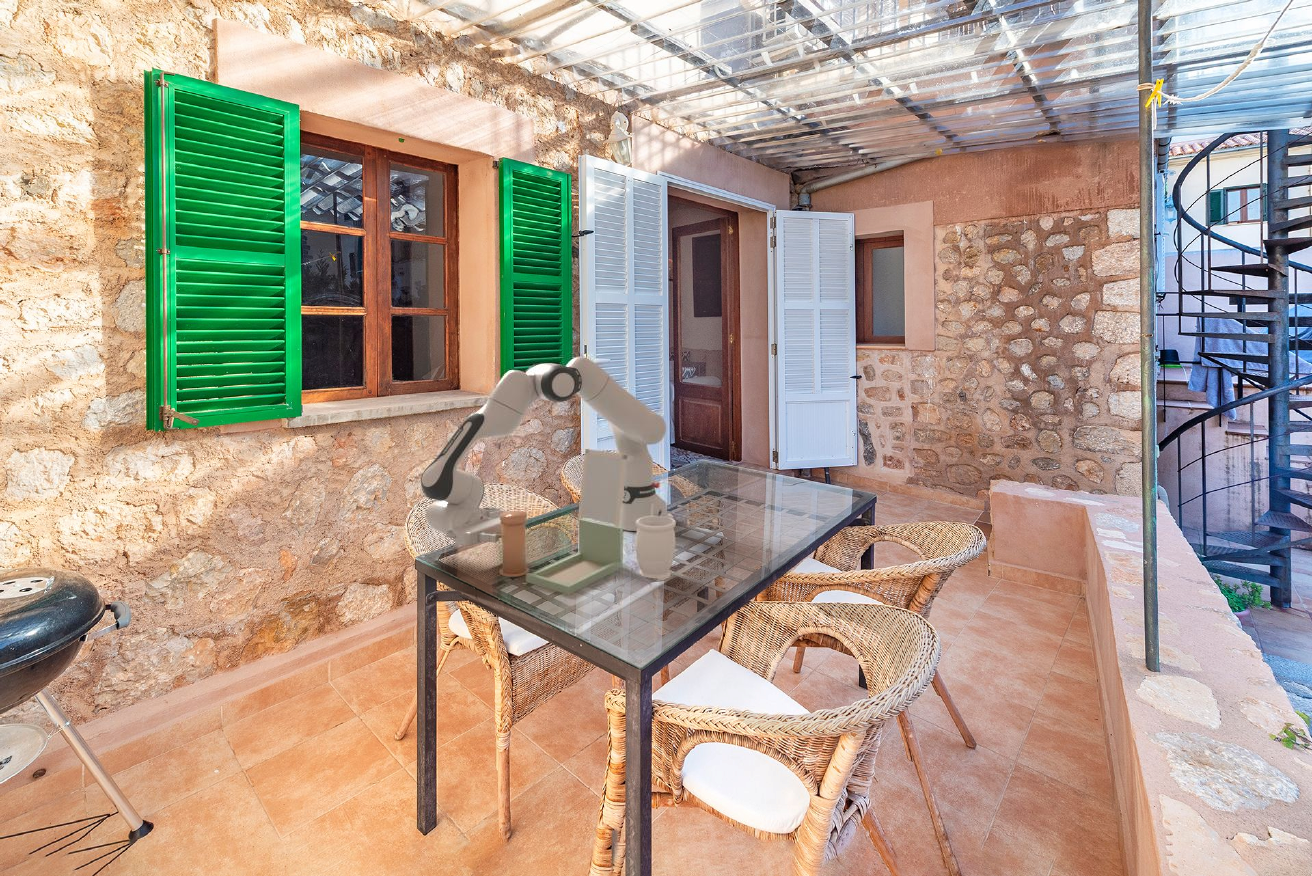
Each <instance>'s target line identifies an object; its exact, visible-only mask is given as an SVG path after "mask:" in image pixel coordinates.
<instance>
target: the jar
mask: <svg viewBox="0 0 1312 876" xmlns="http://www.w3.org/2000/svg"><path fill="white" fill-rule="evenodd" d="M676 524H677V521H676V520H675V519H672V518H670V517H665V516H645V517H641V518H639V519H637V520H636V526H637V527H638V529H637V531H636V532H635V533H636V534H635V554H636V560H637V565H638V567H639V569H640V571H639V574H640V576H642V577H644V578H649V579H655V580H654V582H661V581H666V580H668V579H669V578H670V577H671V575H672V574H671V571H670V569H671V568H672V564H673V562H674V555H675V550H676V533H675V527H676Z"/></svg>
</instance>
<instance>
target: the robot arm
mask: <svg viewBox="0 0 1312 876" xmlns="http://www.w3.org/2000/svg"><path fill="white" fill-rule="evenodd" d="M575 395H577V396H578V397H579V398H580V399H581V400H582V401H584V403H585V404H587V406H589V407H590V408H591V409H592V410H594V411H595V412H596V413H597V414H598V416H601V417H602V418H604V419H605V420H607V421H608V427H609V429H610V431H611V432H612V436H613V439H614V443H615V447H616V451H617V452H616V453H617V454H624V455H628V457H627V466H626V475H625V484H624V493H623V502H622V511H621V520H620V527H622V528H623V531H630V532H633V531H634V532H637V529H638V527H637V526H636V520H637V519H639V518H641V517H645V516H665V517H670V518H672V519H674V515H672V514H671V513H668V512H667V510H668V509H667V502H666V501H665V500H664V498H661V496H659V495H658V494H657V493H656V489H660V486H661V484H660V482H658V481H657V482H656V481H653V480H654V478H653V475H654V473H653V472H654V470H653V469H654V468H653V467H654V462H653V457H652V455H651V454H650V451H649V449H648V445H649V446H651V445H655V444H658V443H660V442H661V441H662V440H663V439H664V437H665V436H666V434H667V433H666V432H667V424H666V421H665V419H664V418H663V417H662V416H661V415H660V414H659V413H657V412H655V411H654V410H653V409H651V408H650V407H648V406H647V405H646V404H645V403H644V402H642V401H641V400H640V399H638V398H636V396H634V395H633V394H631V393H630V392H628V391H627V390H626V389H625V388H624V387H622V385H621V384H619V382H617V381H616V380H615V379H614V378H613V377H611V375H610V374H609V373H607V371H605V370H604V369H603V368H602V367H601V366H599V365H598V364H597V363H595V362H594V361H593V360H591V359H589V358H587V357H585V356H576V357H573V359H571V360H570V361H568V363H567V364H566V365H564V364H563V365H562V364H558V363H552V362H551V363H550V362H548V363H547V362H539V363H536V364H535V363H534V364H533V365H532V366H530V367H528V368H527V369H525V370H523V371H522V370H517V369H512V370H508V371H507V372H506V373H504V375H503V376H502V377H501V379H500V380H499V381H498V382H497V384H496V385H495V387H494V388H493V389H492V392H491V393H490V395H489V397H488V398H487V400H486V402H485V403H484V404H483V406H482V407H481V408H480V409H479V410H478V411H477V412H473V413H471V414H469V415H468V416H467V417H466V418H465V419H464V421H462V422H461V424H460V425H459V426H458V428H457V429H456V431H455V432H454V433H453V435H452V436H451V437H450V439H449V440H448V442H447V443H446V444H445V446H444V447H443V449H442V450H441V451H440V452H439V454H438V455H437V456H436V458H435V459H434V460H433V461H432V462H431V463H430V464H429V465H428V466H427V467H426V468H425V469H424V471H423V473H422V475H421V477H420V478H421V479H420V484H421V485H420V486H421V489H422V492H423V495H425V497H426V498H428V499H431V500H436V501H433V502H432V503H430V504H429V505H428V507H427V509H426V512H425V518H426V519H425V520H426V522H427V525H429V527H430V528H432V529H433V530H435V531H436V532H438V533H441V534H444V535H445V537H447V538H449V539H452V541H453V542H454V543H456V544H458V545H460V546H463V547H472V546H475V545H477V544H480V543H489V542H490V543H493V544H494V543H497V542H499V541H500V536H501V537H502V523H500V514H502V513H504V512H509V510H504V509H503V510H501V509H500V507H499V506H490V507H480V506H481V504H482V501H483V498H484V495H485V485H484V481H483V480H482V479H481V477H480V476H478V475H475V474H473V473H471V472H468V471H465V470H462V469H460V468H458V466H459V464H460V463H461V461H463V459H464V457H465V456H466V455H467V453H468V452H469V450H470V449H471V447H472V446H473V445H474V444H476V442H477V441H478V442H479V440H482V439H488V438H504V437H507V436H510V435H512V434H513V433H515V431H516V430H517V429H518V427H519V426H520V424H521V423H522V421H523V419H524V417H525V415H526V413H527V411H528V409H529V407H530V405H531V404H532V403H533V402H534V401H536V400H537V399H540V400H543V401H545V402H552V403H564V402H567V401H568V400H570V399H572V397H574V396H575ZM655 488H656V489H655ZM674 520H675V519H674ZM612 525H613V526H615V524H612Z"/></svg>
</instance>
